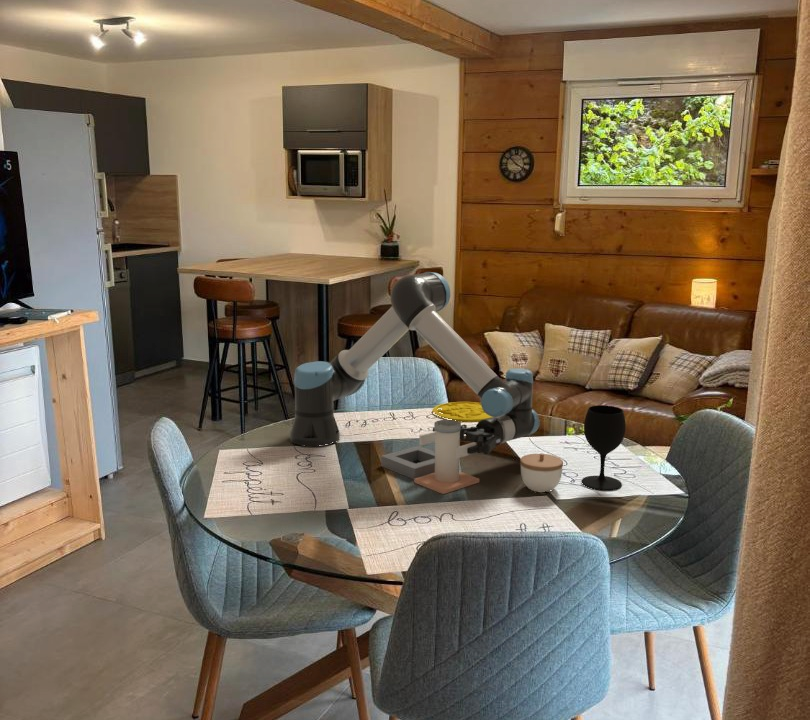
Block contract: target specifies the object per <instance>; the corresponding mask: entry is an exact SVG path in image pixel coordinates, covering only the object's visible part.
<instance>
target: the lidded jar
mask: <svg viewBox="0 0 810 720" xmlns="http://www.w3.org/2000/svg"><path fill="white" fill-rule="evenodd" d="M519 462H520V476H521V479H522V481H523V483H524V485H525V486H526V487H527V488H528V490H529V489H531V490H534V491H538V492H545V491H550V490H552V489H553V490H554V489H555V488H556V487H557V486H558V485H559V483H560V482H561V478H562V474H563V467H564V461H563V459H562V458H560V457H558V456H556V455H554V454H547V453H530V454H525V455H523V456H521V458H520V461H519ZM553 490H552V491H553Z"/></svg>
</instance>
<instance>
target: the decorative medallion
mask: <svg viewBox="0 0 810 720" xmlns="http://www.w3.org/2000/svg"><path fill="white" fill-rule="evenodd" d="M438 408H442V410H441V409H438ZM437 409H438V410H437ZM433 412H435V414H437V415H439V416H441V417H444V418H448V419H452V420H456V421H462V422H461V423H478V422H479V421H481V420H483V419H487V418H491V417H492V416H489V415H488V414H486V413H485V412H484V411H483V408H482V406H481V402H476V401H475V402H473V401H456V402H455V401H453V402H445V403H441V404H438V405H437V404H436V406H434V407H433V408H432V413H433ZM439 412H441V413H443V414H441V413H439Z"/></svg>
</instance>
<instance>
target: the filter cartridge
mask: <svg viewBox="0 0 810 720" xmlns="http://www.w3.org/2000/svg"><path fill="white" fill-rule="evenodd" d="M433 423H434V424H433V425H434V427H433V428H434V430H435V442H434V451H435V480H436V481H438V482H442V483H453V482H457V481H458V480H459V471H460V458H456V447H459V446H461V445H460V444H461V439H460V430H461V425H462V424H461V423H462V422H458V421H455V420H445V419H440V420H439V419H438V420H437V421H434V422H433Z"/></svg>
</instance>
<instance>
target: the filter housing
mask: <svg viewBox="0 0 810 720" xmlns="http://www.w3.org/2000/svg"><path fill="white" fill-rule="evenodd" d="M415 461H419V462H417V463H415ZM380 466H381V467H382V468H384V469H388V470H390V471H393V472H395V473H397V474H400V475H402V476H405V477H408V478H409V479H412V480H414V479H415V478H418V477H422V476H425V475H428V474H432V473H435V450H432V449H430V448H426V447H424V446H421V445H416V446H413V447H409V448H405V449H402V450H398V451H394V452H390V453H387V454H383V455H380Z"/></svg>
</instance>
